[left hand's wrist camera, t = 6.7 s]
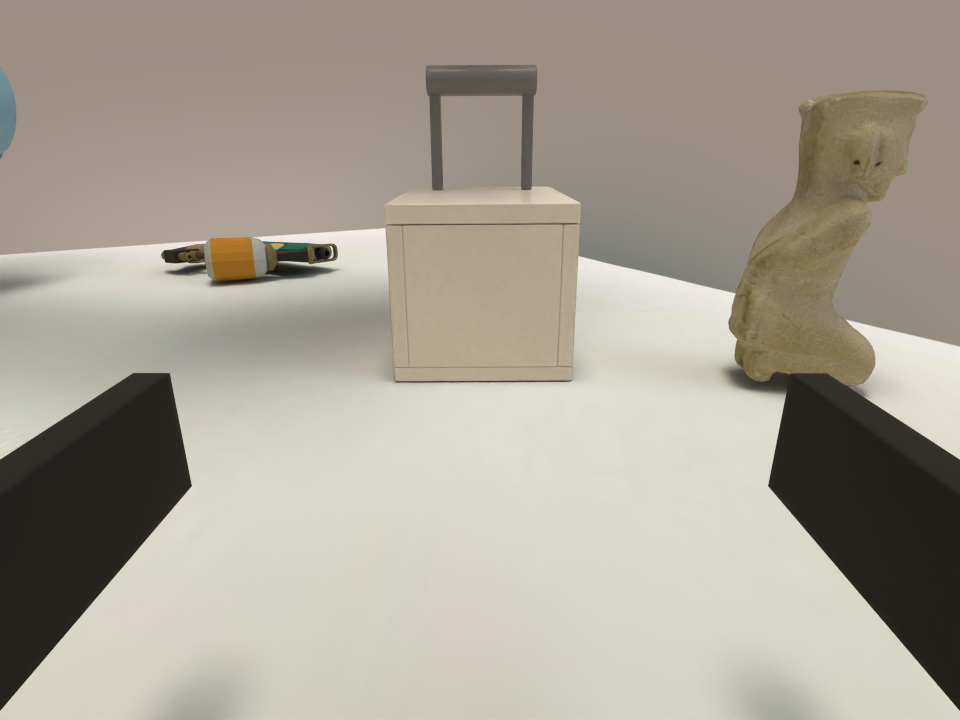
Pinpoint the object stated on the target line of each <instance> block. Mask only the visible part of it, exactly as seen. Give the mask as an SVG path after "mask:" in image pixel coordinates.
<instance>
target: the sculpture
mask: <svg viewBox="0 0 960 720" xmlns="http://www.w3.org/2000/svg"><path fill="white" fill-rule="evenodd" d="M926 105H927V98H926V96H924V95H921V94H917V93H913V92H904V91H861V92H854V93H846V94H836V95H829V96H823V97H819V98H814V99H811V100H807V101H804V102H803V103H801V104H800V106H799V112H800V115H801V117H802V125H801V134H800V142H799V172H798V181H797V186H796V190H795V194H794V197H793V199H792V201H791V202H790V203H789V204H787V205H786V206H785V207H784V208H783V209H782V210H781V211H779V212H778V213H777V214H776V215H775V216H774V217H773V218H772V219H771V220H770V221H769V222H768V223H767V224H766V225H765V226H764V227H763V228H762V230H761V231H760V233H759V234H758V236H757V238H756V240H755V242H754V245H753V247H752V250H751V253H750V256H749V260H748V264H747V267H746V269H745V271H744V274H743V277H742V280H741V282H740V284H739V286H738V289H737V292H736V295H735V298H734V301H733V305H732V314H731V317H730V319H729V322H728V323H729V329H730V331H731V332H732V333H733V335H734V336H735V337H736V338H737V343H736V348H735V360H736V362H737V364H738V365H739V366H740V367H742V368H743V369H744V372H745V373H746V374H747V375H748V376H749V377H750V378H751V379H753V380H755V381H759V382H764V381H769V380H770V379H771V376H772V375H773V374H774V373H775V372H783V373H786V374H789V375H790V373H827V374H829V375H830V376H832V377H833V378H835V379H836V380H838V381H839V382H841V383H843V384H844V385H859V384H863V383H864V382H865V381H866V380H867V379H868V378H869V376H870V375H871V373H872V371H873V369H874V367H875V354H874V350H873V348H872V346H871V344H870V343H869V341H868V340H867V339H866V338H865V337H864V336H863V335H862V334H861V333H859V332H858V331H857V330H856V329H854V328H853V327H852V326H851V325H850V324H849V323H848V322H847V321H846V320H845V319H843V318H842V317H841V316H840V315H838V314H837V313H836V311H835V309H834V308H833V305H832V298H833V294H834V292H835V289H836V286H837V284H838V281H839V279H840V277H841V275H842V272H843V270H844V268H845V266H846V264H847V261H848V259H849V257H850V255H851V253H852V250H853V249H854V247H855V245H856V244H857V242H858V241H859V240H860V238H861V237H862V236H863V235H864V233H865V232H866V231H867V230H868V228H869V225H870V222H871V215H872V213H871V210H870V207H869V206H868V205H867V204H866V203H865V202H872V201H881V200H882V199H883V198H884V197H885V194H886V192H887V189H888V187H889V185H890V183H891V181H892V180H893V179H894V178H895V177H896V176H899V175H902V174H904V173H906V172H907V170H908V161H907V156H908V149H909V142H910V139H911V136H912V133H913V131H914V129H915V122H916V117H917V115H918V114H919V113H920V112H921V111H922V110H923V109H924V108H925V107H926Z"/></svg>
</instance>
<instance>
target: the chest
mask: <svg viewBox="0 0 960 720" xmlns="http://www.w3.org/2000/svg"><path fill="white" fill-rule="evenodd" d="M579 230H580V225H579V224H578V223H540V224H388V225H387V226H386V241H387V258H388V275H389V291H390V308H391V325H392V341H393V358H394V367H395V368H394V375H395V381H552V380H572V365H573V347H574V328H575V308H576V289H577V269H578V250H579Z"/></svg>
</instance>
